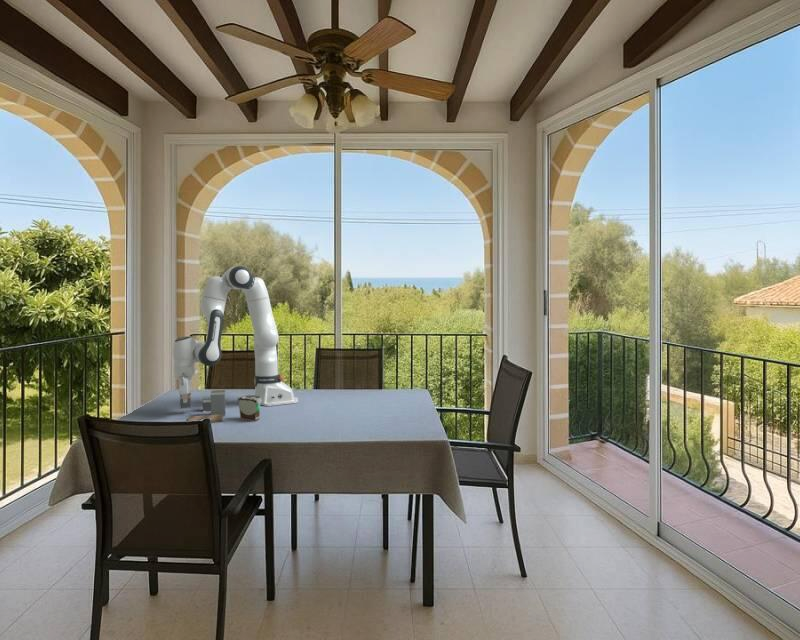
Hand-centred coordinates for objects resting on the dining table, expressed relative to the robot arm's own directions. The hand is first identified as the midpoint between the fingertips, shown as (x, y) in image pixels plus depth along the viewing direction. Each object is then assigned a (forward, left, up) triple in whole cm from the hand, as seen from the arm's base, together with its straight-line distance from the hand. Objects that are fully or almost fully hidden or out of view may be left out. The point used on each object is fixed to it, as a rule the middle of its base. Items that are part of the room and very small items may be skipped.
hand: (185, 401), depth 249 cm
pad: (-9, +17, -6) cm, 21 cm away
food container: (-29, +20, -6) cm, 36 cm away
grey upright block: (-14, +8, -6) cm, 17 cm away
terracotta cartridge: (0, 0, -3) cm, 3 cm away
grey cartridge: (-9, -3, -6) cm, 11 cm away
